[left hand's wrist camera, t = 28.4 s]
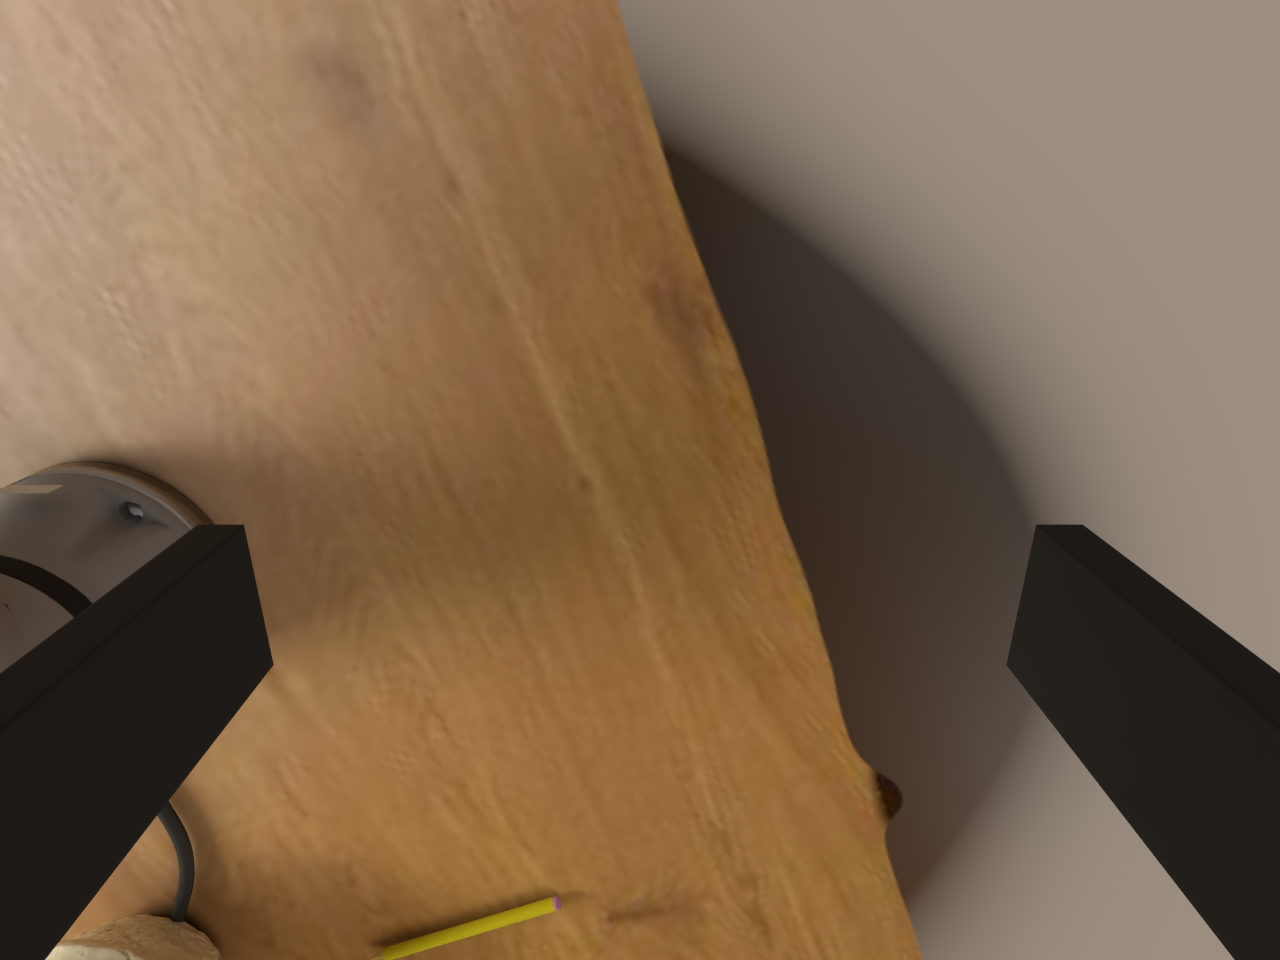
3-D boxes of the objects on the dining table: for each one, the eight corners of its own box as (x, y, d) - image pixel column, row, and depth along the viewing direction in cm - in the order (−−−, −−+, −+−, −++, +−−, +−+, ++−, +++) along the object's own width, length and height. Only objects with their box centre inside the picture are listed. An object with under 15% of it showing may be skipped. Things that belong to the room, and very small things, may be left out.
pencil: (556, 892, 57) (554, 903, 56) (561, 901, 58) (560, 912, 57) (368, 949, 60) (364, 961, 59) (375, 957, 60) (370, 969, 59)
